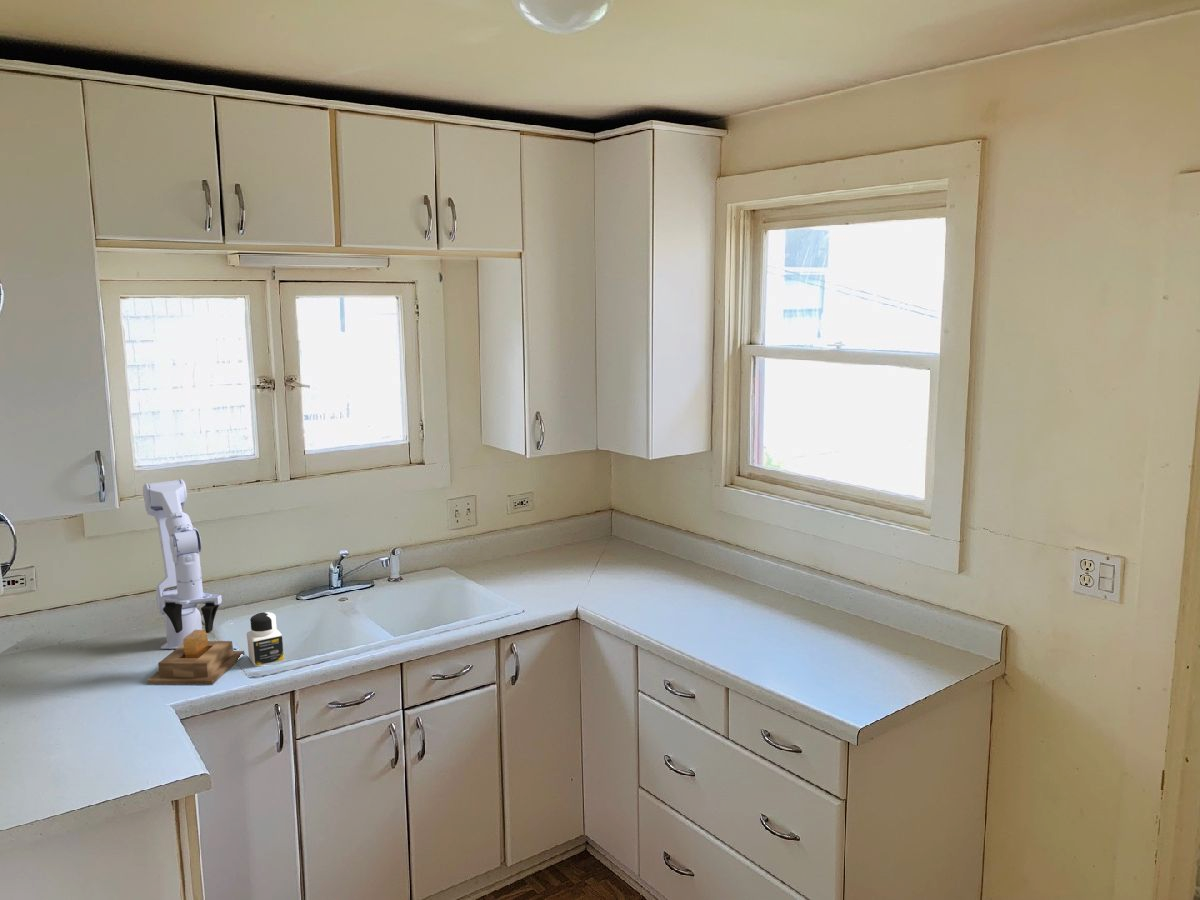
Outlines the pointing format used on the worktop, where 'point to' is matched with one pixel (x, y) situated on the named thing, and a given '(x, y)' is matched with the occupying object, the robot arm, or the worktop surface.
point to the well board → (196, 665)
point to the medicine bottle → (264, 640)
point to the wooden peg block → (195, 644)
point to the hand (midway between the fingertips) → (194, 631)
